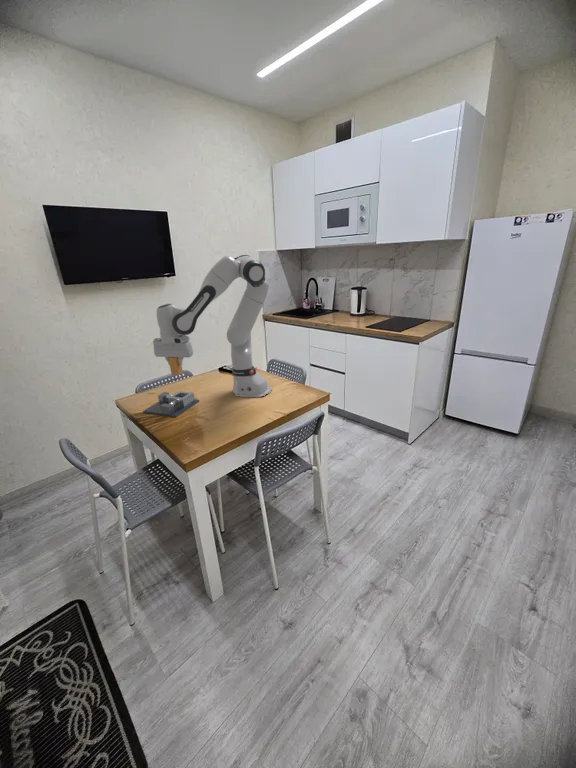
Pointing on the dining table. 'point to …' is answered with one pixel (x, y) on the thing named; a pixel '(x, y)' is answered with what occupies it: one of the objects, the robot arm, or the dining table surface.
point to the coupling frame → (172, 404)
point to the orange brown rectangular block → (175, 366)
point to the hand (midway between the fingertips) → (175, 365)
